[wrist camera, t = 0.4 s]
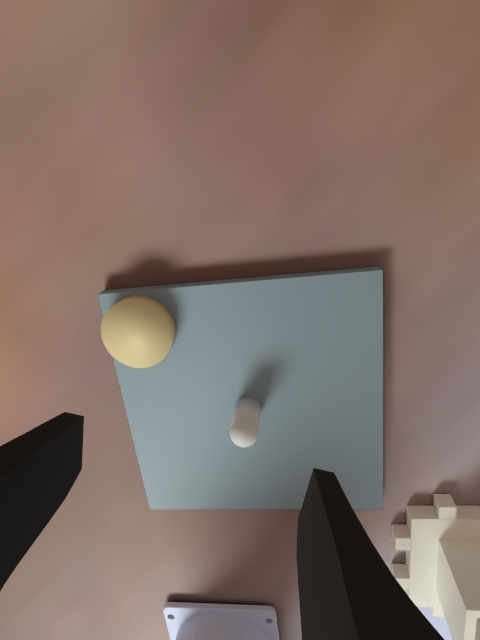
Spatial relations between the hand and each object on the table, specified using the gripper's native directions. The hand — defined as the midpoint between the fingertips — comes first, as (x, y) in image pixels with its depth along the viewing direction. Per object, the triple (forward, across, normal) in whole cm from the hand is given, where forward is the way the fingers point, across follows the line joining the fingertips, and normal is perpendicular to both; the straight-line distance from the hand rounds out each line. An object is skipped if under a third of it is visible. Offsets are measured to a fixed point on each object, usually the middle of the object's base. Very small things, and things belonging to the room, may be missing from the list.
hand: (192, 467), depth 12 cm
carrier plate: (+10, -1, +3) cm, 10 cm away
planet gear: (+10, -16, +10) cm, 22 cm away
